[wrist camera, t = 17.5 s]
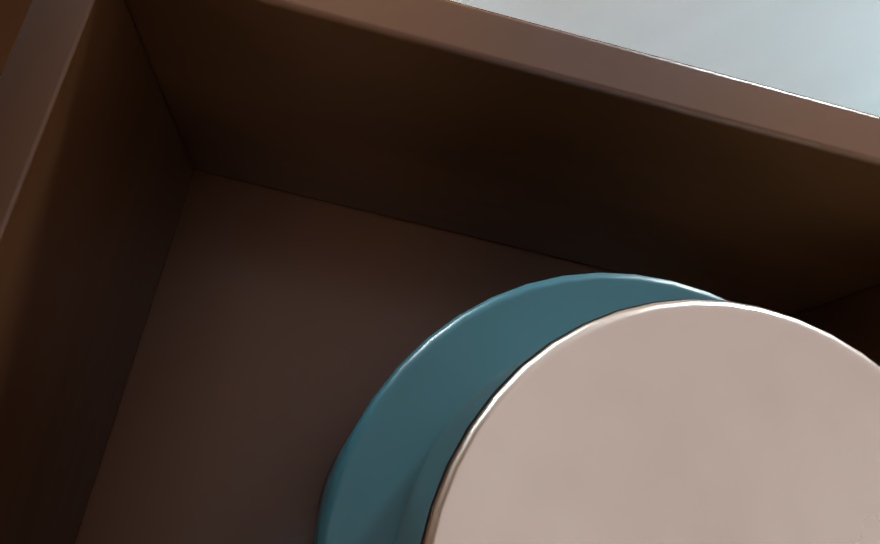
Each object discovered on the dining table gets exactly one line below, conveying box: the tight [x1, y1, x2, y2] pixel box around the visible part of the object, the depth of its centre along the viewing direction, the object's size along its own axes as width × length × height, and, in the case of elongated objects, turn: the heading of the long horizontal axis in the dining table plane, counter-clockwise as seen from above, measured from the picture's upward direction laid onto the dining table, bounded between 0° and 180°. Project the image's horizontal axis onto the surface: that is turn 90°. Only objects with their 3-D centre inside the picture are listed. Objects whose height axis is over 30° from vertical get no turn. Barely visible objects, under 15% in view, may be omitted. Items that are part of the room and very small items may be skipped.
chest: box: [0, 0, 880, 544], centre depth 12 cm, size 16×14×8 cm
